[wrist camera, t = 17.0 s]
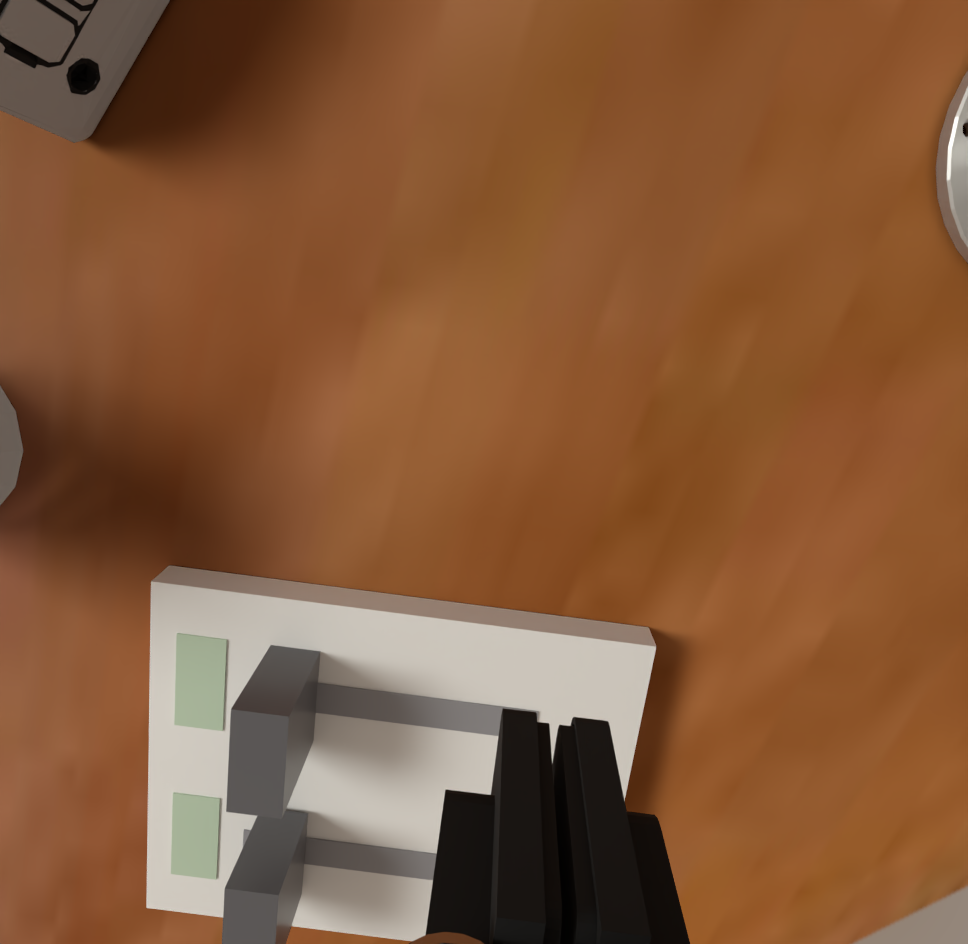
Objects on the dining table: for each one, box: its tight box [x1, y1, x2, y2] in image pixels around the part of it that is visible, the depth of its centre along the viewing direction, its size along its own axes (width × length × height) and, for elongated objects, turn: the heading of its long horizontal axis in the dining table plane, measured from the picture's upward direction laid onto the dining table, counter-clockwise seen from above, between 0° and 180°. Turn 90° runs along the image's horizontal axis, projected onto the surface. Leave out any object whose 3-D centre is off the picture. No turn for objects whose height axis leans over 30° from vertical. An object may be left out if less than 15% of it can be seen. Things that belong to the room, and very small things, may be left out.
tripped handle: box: [222, 811, 308, 944], centre depth 37 cm, size 2×5×5 cm, turn 173°
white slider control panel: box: [147, 565, 656, 941], centre depth 37 cm, size 24×19×8 cm
